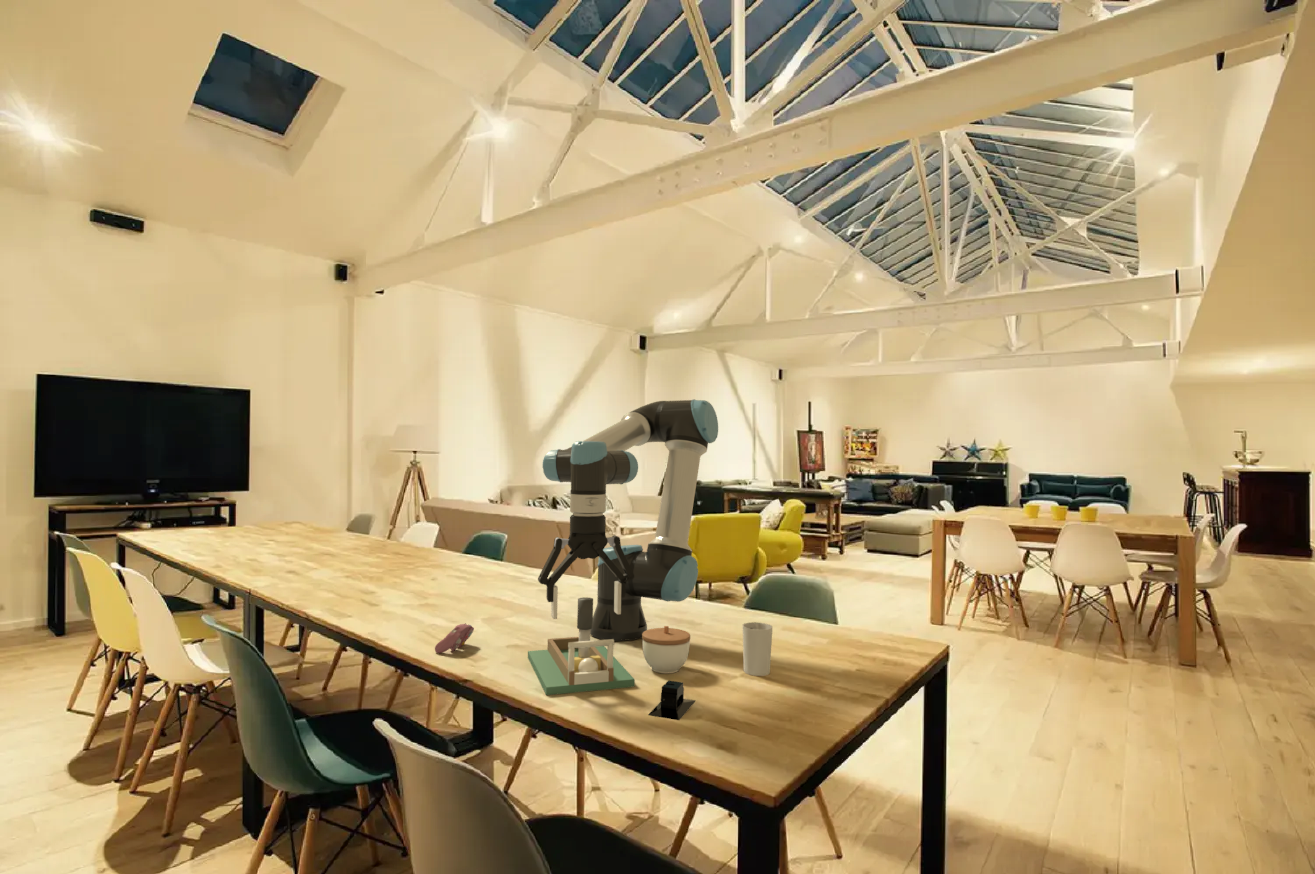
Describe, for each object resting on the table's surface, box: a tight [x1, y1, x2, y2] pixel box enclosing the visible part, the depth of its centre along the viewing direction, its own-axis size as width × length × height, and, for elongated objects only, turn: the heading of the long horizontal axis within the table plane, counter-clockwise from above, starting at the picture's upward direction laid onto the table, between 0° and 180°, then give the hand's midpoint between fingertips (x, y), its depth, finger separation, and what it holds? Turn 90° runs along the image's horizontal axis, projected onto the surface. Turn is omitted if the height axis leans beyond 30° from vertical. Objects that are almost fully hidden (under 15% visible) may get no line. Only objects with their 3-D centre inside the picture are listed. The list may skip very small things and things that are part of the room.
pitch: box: [527, 636, 636, 696], centre depth 142 cm, size 18×25×10 cm
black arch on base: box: [648, 680, 697, 721], centre depth 122 cm, size 13×8×5 cm, turn 160°
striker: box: [574, 596, 601, 673], centre depth 137 cm, size 6×3×15 cm, turn 109°
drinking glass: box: [742, 621, 773, 677], centre depth 145 cm, size 7×7×10 cm
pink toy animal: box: [434, 623, 475, 654], centre depth 157 cm, size 10×5×7 cm, turn 169°
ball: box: [578, 658, 598, 672], centre depth 133 cm, size 4×4×4 cm
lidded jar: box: [641, 625, 691, 674], centre depth 145 cm, size 11×11×9 cm
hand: (586, 615), depth 138 cm, fingers open, 13 cm apart
